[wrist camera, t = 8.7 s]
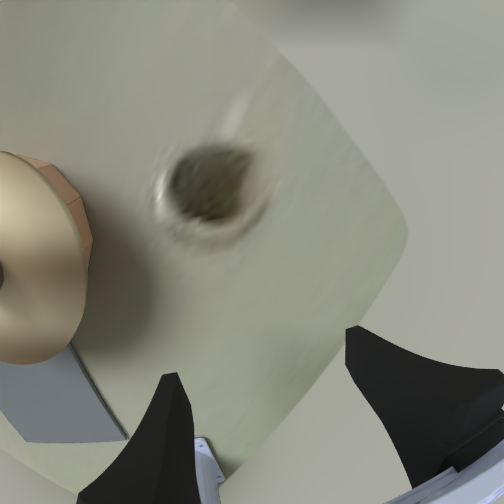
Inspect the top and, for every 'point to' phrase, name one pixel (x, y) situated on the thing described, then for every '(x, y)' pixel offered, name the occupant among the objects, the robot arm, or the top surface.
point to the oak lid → (37, 266)
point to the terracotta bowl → (68, 201)
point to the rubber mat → (55, 402)
